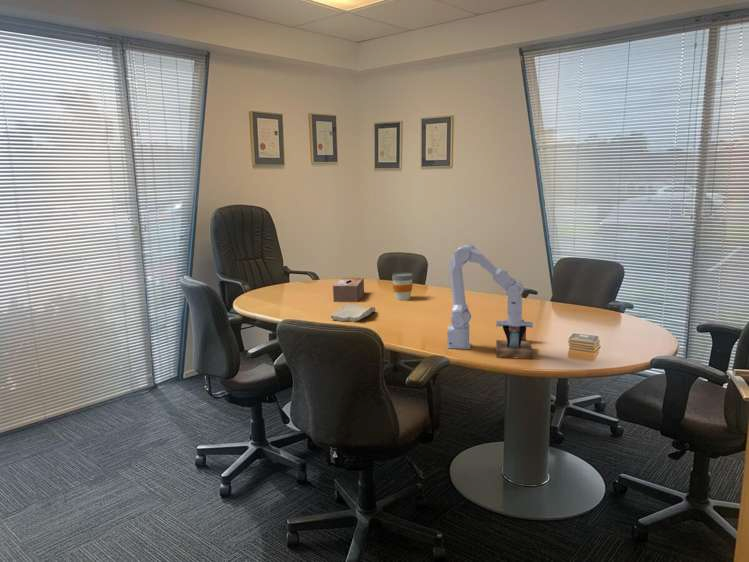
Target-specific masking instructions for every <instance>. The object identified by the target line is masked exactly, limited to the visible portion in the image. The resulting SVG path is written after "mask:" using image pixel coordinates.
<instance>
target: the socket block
mask: <svg viewBox="0 0 749 562" xmlns="http://www.w3.org/2000/svg"><path fill="white" fill-rule="evenodd" d="M495 341H496V344H495V348H496V349H495V350H496V353H497V354H496V358H497V357H519V358H518V359H521V358H534V356H533V355H534V354H533V353H534V351H533V347H532V343H531V341H529V340H528V341H527V340H526V341H521V345H519V348H509V344H508V343H507V339H506V340H503V339H499V340H497V339H496V340H495Z"/></svg>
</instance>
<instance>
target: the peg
mask: <svg viewBox="0 0 749 562" xmlns="http://www.w3.org/2000/svg"><path fill="white" fill-rule="evenodd" d="M509 348H519V331H515V330H512V331H509Z"/></svg>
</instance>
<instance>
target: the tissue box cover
mask: <svg viewBox="0 0 749 562" xmlns="http://www.w3.org/2000/svg"><path fill="white" fill-rule="evenodd" d="M364 280H365V279H364V277H341V278H340V279H339V280H338V281H336V283H335V284H333V285H332V292H333V295H332V296H333V297H332V298H333V302H334V303H357V302H359V300H360V299H361V298H362V297H363V295H364V294H365V281H364Z"/></svg>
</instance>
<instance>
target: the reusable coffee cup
mask: <svg viewBox="0 0 749 562" xmlns="http://www.w3.org/2000/svg"><path fill="white" fill-rule="evenodd" d="M391 279H392V289H393V292H394V298H395V300H397V301H408V300H411V295H412V290H413V279H414V275H413V273H411V272H396V273H395V272H394V273H392V277H391Z"/></svg>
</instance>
